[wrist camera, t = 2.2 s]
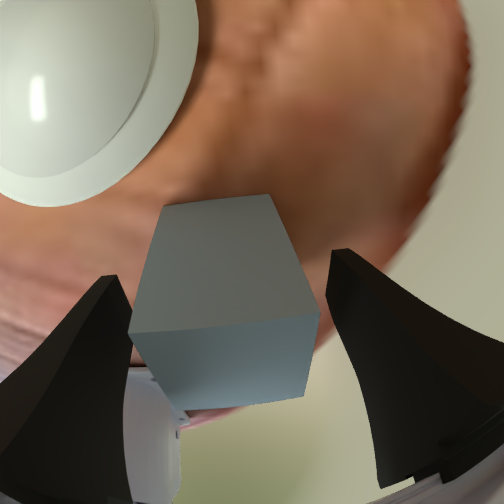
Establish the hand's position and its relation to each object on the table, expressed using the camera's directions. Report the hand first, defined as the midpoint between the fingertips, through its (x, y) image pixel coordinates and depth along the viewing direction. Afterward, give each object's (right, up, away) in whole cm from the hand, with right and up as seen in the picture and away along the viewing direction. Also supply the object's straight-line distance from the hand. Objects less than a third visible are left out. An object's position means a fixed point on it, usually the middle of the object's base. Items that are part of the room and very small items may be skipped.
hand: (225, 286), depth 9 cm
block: (0, +1, +2) cm, 3 cm away
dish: (-6, +8, -3) cm, 11 cm away
